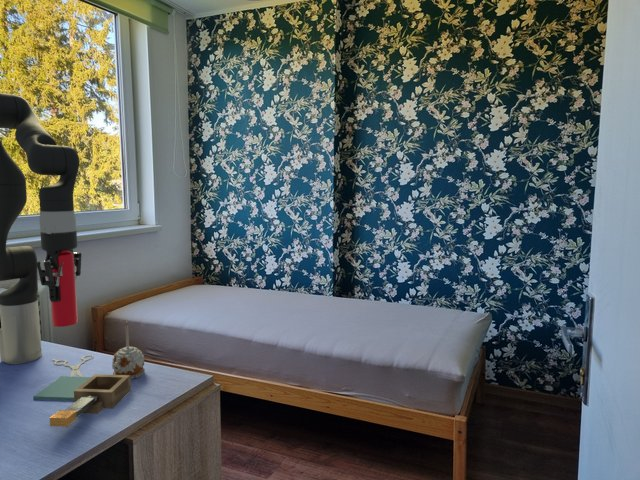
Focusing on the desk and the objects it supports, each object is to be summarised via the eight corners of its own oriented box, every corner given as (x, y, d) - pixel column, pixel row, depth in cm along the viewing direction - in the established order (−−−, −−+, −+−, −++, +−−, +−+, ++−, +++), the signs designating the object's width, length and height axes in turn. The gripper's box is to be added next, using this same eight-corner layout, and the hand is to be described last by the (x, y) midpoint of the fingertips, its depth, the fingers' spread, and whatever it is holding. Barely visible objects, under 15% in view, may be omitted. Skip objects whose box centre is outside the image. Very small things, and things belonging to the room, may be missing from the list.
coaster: (33, 399, 106) (33, 396, 106) (61, 379, 117) (61, 376, 117) (78, 400, 106) (77, 397, 106) (102, 380, 117) (102, 377, 117)
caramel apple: (106, 378, 118) (103, 324, 116) (130, 367, 125) (128, 316, 123) (127, 384, 115) (124, 328, 113) (150, 372, 122) (148, 320, 120)
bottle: (53, 321, 110) (47, 242, 108) (77, 318, 113) (72, 241, 110) (52, 328, 106) (46, 245, 103) (77, 324, 108) (72, 244, 106)
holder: (68, 412, 100) (67, 396, 100) (95, 389, 112) (94, 374, 111) (107, 414, 100) (106, 397, 100) (130, 390, 112) (130, 375, 111)
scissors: (92, 352, 135) (99, 376, 118) (92, 355, 135) (99, 379, 118) (51, 359, 129) (52, 386, 112) (52, 362, 129) (52, 388, 113)
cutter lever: (83, 400, 102) (83, 392, 101) (98, 400, 101) (98, 393, 101) (50, 426, 90) (49, 417, 90) (67, 426, 90) (67, 418, 90)
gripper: (61, 226, 114) (66, 290, 116) (22, 232, 99) (28, 306, 102) (90, 226, 113) (94, 291, 116) (54, 233, 99) (59, 306, 101)
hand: (63, 297), depth 109 cm, fingers closed on bottle, 5 cm apart
